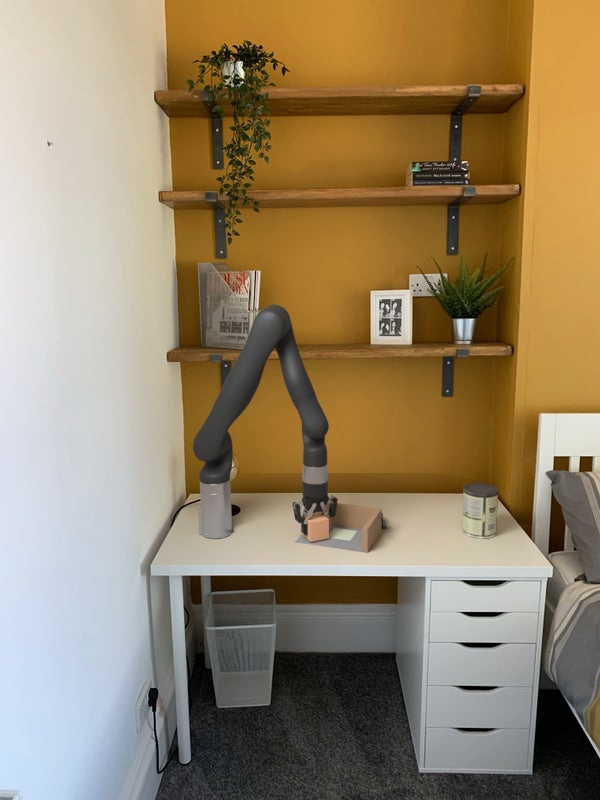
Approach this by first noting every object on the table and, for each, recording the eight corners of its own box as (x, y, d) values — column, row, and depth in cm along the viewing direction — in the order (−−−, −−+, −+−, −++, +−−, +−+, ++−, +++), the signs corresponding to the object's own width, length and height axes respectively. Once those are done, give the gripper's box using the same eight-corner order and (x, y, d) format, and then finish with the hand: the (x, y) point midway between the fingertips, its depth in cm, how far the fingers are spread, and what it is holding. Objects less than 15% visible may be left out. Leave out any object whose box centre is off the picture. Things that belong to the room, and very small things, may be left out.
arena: (294, 545, 183) (294, 519, 181) (314, 523, 199) (313, 500, 197) (367, 556, 175) (367, 529, 174) (381, 533, 191) (381, 508, 189)
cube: (310, 541, 181) (310, 522, 180) (301, 534, 187) (301, 515, 186) (328, 538, 184) (328, 519, 183) (319, 530, 189) (319, 512, 188)
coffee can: (468, 523, 198) (470, 480, 195) (500, 530, 192) (503, 486, 189) (456, 534, 189) (458, 490, 187) (490, 541, 184) (492, 496, 181)
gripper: (298, 486, 176) (298, 541, 179) (343, 479, 181) (342, 533, 185) (287, 478, 182) (288, 532, 186) (331, 471, 188) (331, 524, 191)
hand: (315, 532), depth 185 cm, fingers closed on cube, 6 cm apart
